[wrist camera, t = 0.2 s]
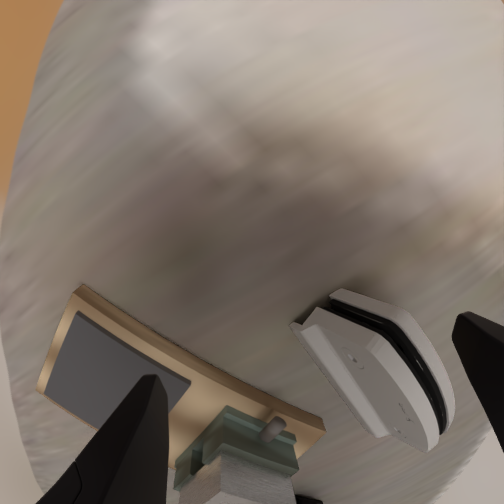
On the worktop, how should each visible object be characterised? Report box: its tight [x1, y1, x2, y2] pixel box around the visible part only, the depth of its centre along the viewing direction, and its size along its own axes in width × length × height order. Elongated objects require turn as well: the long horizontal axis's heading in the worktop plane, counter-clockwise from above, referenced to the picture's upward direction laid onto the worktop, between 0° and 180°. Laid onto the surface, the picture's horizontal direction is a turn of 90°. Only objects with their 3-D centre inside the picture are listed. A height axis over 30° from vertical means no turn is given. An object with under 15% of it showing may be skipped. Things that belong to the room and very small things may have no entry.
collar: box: [179, 450, 296, 504], centre depth 19 cm, size 6×6×4 cm
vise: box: [36, 284, 326, 492], centre depth 21 cm, size 12×24×9 cm, turn 55°
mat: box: [44, 310, 191, 430], centre depth 22 cm, size 10×10×1 cm
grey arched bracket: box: [289, 288, 455, 453], centre depth 22 cm, size 17×5×10 cm, turn 34°
